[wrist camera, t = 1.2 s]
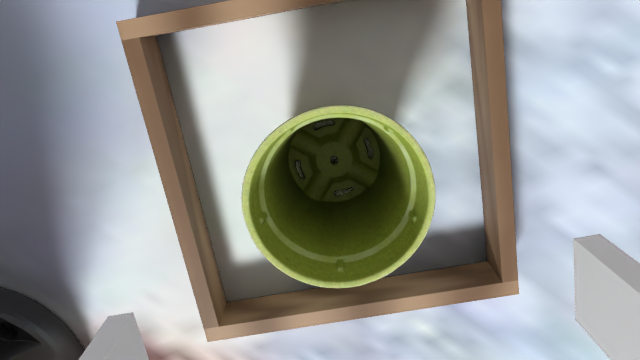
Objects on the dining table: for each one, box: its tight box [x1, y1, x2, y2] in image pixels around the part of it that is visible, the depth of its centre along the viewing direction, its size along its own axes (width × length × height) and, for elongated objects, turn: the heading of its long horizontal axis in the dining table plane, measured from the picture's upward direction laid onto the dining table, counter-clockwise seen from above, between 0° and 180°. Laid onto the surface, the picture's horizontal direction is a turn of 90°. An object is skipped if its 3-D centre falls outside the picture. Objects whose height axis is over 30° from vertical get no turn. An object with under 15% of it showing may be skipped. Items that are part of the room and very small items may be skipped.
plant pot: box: [242, 105, 435, 288], centre depth 28 cm, size 9×9×9 cm
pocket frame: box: [116, 0, 519, 342], centre depth 31 cm, size 21×21×3 cm
